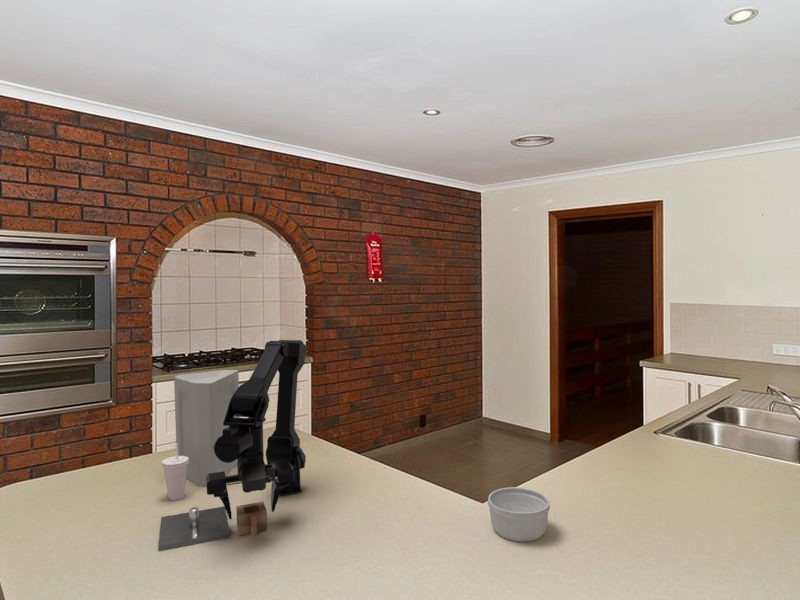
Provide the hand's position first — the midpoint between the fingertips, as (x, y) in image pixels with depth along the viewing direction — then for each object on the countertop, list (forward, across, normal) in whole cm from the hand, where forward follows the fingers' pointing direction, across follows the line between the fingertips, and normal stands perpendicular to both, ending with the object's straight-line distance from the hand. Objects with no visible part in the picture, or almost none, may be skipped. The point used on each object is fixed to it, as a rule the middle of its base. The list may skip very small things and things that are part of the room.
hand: (251, 514), depth 117 cm
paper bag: (+3, -9, +39) cm, 40 cm away
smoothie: (+3, -16, +24) cm, 29 cm away
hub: (+3, -12, +4) cm, 13 cm away
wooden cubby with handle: (+3, 0, 0) cm, 3 cm away
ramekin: (+3, +54, -25) cm, 60 cm away
